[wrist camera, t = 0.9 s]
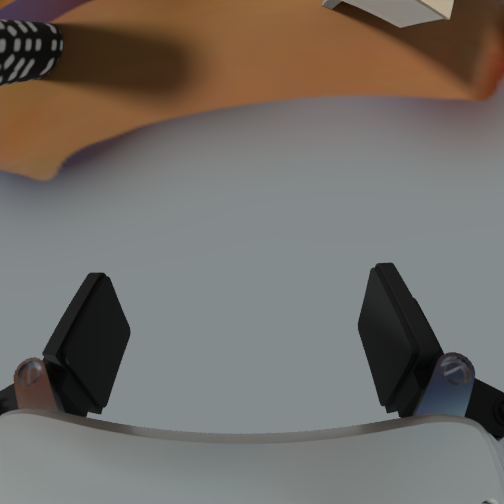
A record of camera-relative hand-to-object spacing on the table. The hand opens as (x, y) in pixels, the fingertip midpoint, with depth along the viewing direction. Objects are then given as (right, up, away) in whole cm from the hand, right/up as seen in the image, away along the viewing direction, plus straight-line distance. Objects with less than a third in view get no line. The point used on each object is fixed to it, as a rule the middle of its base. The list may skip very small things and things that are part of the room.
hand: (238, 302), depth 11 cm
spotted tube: (-28, +29, +15) cm, 43 cm away
